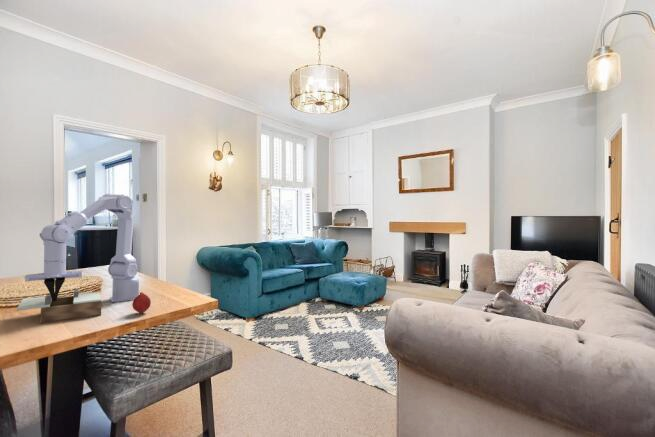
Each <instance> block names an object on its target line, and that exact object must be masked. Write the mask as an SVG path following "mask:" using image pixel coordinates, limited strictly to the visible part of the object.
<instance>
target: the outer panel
mask: <svg viewBox="0 0 655 437" xmlns="http://www.w3.org/2000/svg"><path fill="white" fill-rule="evenodd" d="M51 301H52V299H51V295H50V294H47V295H45V296H36V297H28V298H22V299H21V301H20V302H19V305H17V307H16V311H18V312H19V311H25V310H35V309H41V308H45V307H50V304H51Z"/></svg>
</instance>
